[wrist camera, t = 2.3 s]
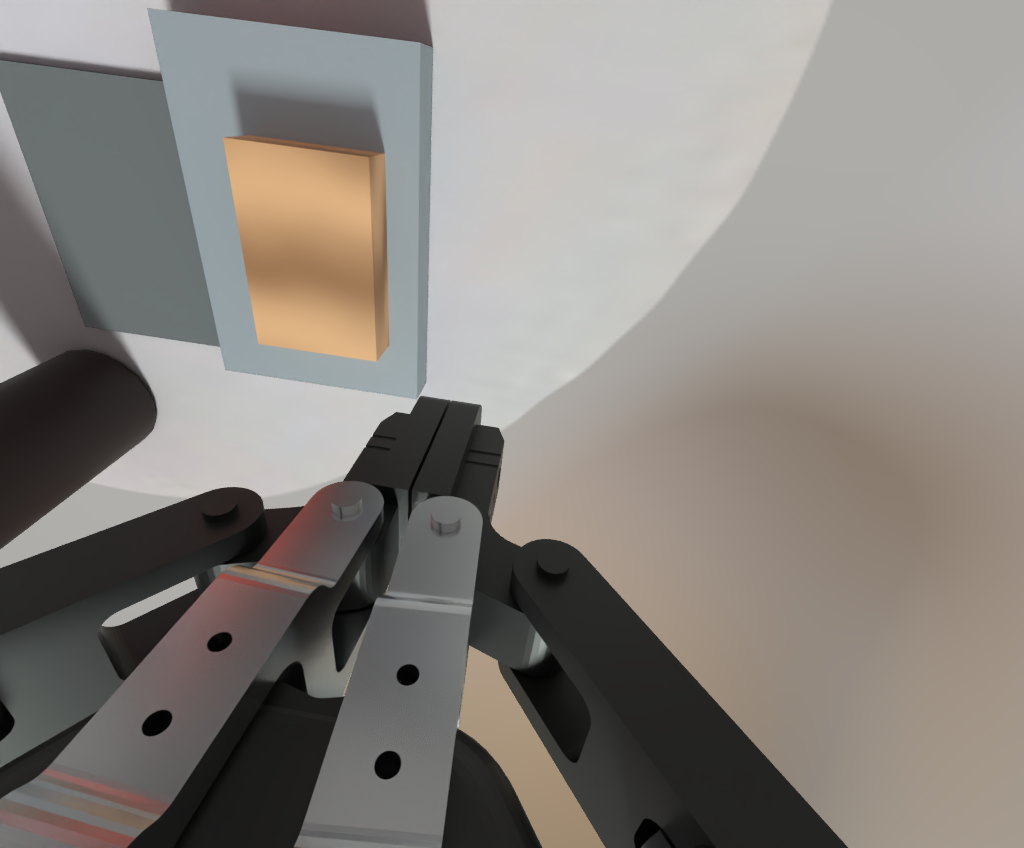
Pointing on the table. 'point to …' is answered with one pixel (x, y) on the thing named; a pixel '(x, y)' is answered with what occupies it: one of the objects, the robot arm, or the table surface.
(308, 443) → the table surface
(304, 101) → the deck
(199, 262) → the mat
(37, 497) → the bottle
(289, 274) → the tile
